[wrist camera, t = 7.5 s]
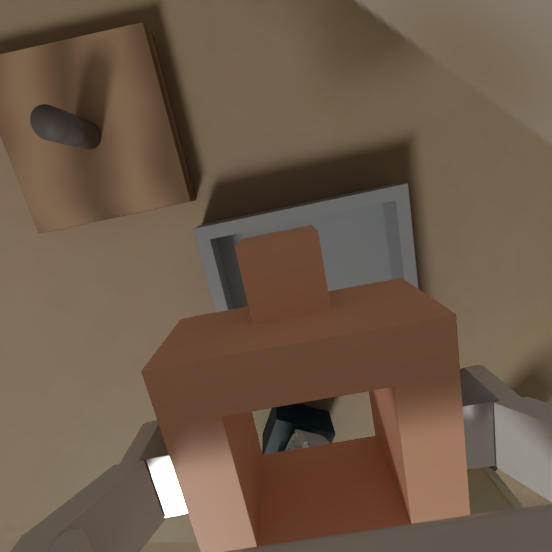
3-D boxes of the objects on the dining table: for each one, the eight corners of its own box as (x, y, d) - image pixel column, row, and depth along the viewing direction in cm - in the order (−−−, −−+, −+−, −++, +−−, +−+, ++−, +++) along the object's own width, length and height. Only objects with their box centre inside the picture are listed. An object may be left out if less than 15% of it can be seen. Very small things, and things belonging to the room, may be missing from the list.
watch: (256, 450, 34) (253, 570, 23) (281, 382, 32) (289, 479, 21) (309, 462, 34) (329, 585, 24) (335, 396, 32) (370, 498, 22)
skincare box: (470, 450, 34) (576, 585, 23) (497, 472, 35) (613, 613, 24) (426, 488, 36) (505, 636, 24) (453, 509, 36) (543, 661, 25)
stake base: (152, 35, 24) (113, -19, 18) (195, 200, 27) (174, 203, 21) (-6, 71, 24) (-99, 29, 18) (54, 230, 28) (-8, 242, 21)
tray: (390, 184, 27) (407, 183, 24) (409, 355, 31) (427, 375, 28) (201, 224, 28) (193, 229, 24) (245, 388, 32) (242, 412, 28)
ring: (394, 208, 9) (448, 215, 6) (422, 463, 11) (473, 559, 8) (162, 254, 9) (111, 281, 7) (231, 494, 11) (215, 596, 9)
